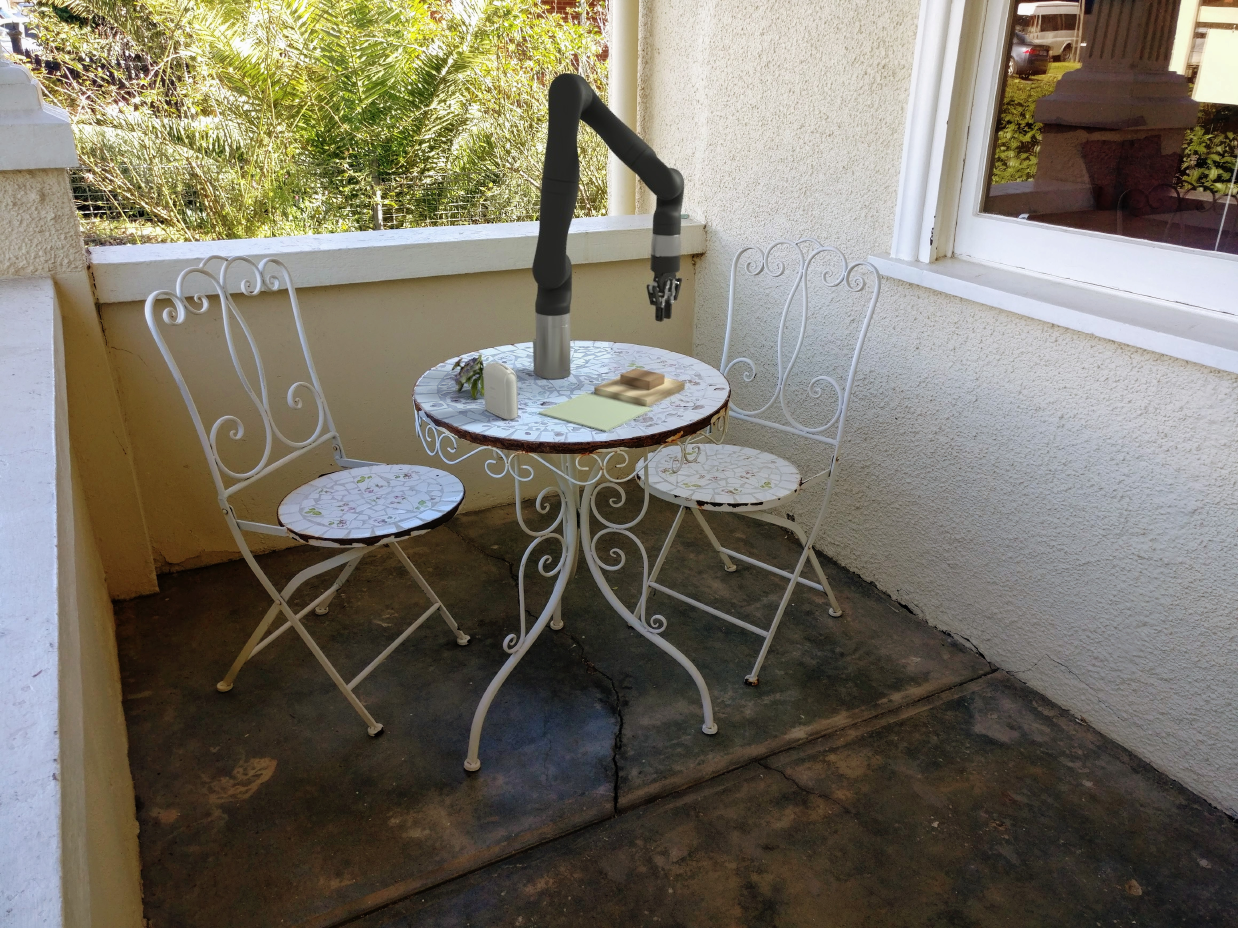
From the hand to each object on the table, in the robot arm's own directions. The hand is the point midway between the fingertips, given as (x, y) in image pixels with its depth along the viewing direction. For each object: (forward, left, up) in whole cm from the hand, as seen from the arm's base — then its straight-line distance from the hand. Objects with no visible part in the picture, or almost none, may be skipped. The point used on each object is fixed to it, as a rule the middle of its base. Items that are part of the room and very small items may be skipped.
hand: (663, 319), depth 228 cm
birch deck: (0, -10, -17) cm, 20 cm away
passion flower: (-33, -36, -17) cm, 52 cm away
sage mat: (0, -29, -17) cm, 34 cm away
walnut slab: (0, -9, -15) cm, 18 cm away
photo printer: (-17, -44, -17) cm, 50 cm away
